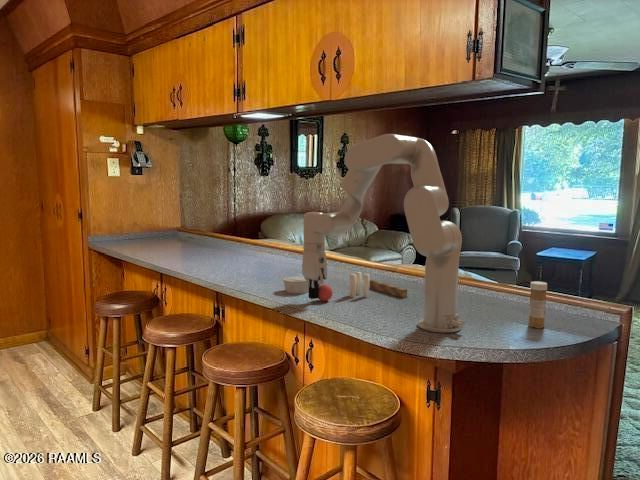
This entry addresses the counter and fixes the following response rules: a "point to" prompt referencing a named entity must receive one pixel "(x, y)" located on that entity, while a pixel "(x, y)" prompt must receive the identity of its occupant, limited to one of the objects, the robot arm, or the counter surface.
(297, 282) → the ramekin
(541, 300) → the sprinkles bottle
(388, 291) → the walnut rail
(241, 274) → the counter surface
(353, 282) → the front pin
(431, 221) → the robot arm
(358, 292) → the far pin
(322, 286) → the ball
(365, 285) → the near pin
